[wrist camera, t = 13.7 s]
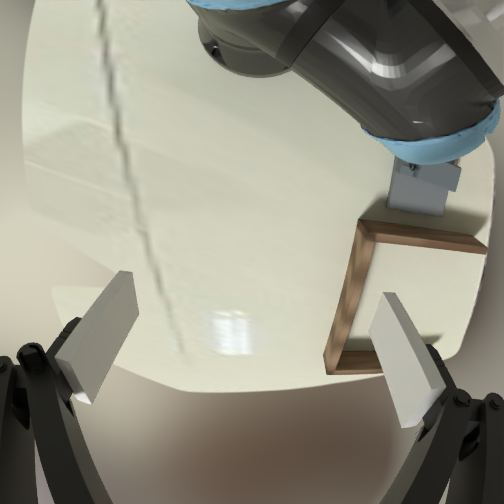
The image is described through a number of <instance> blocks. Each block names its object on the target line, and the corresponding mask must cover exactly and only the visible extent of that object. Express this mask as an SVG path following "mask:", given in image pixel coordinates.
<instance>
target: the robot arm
mask: <svg viewBox="0 0 504 504" xmlns="http://www.w3.org/2000/svg"><path fill="white" fill-rule="evenodd" d="M186 1H187V2H188V4H189V5H190V6H191V8H192V9H193V10H194V11H195V13H196V14H197V15H198V16H199V20H198V32H199V37H200V40H201V43H202V45H203V47H204V49H205V50H206V52H207V53H208V54H209V55H210V56H211V57H212V59H213V60H214V61H215V62H217V63H218V64H219V65H220V66H222V67H223V68H225V69H227V70H229V71H231V72H233V73H235V74H238V75H242V76H246V77H254V78H266V77H273V76H278V75H281V74H284V73H287V72H289V71H291V70H292V71H294V72H295V73H296V74H298V75H299V76H301V77H302V78H303V79H305V80H306V81H308V82H309V83H310V84H312V85H313V86H314V87H316V88H317V89H318V90H320V91H321V92H322V93H323V94H325V95H326V96H327V97H329V98H330V99H331V100H332V101H334V102H335V103H336V104H337V105H338V106H340V107H341V108H342V109H343V110H344V111H346V112H347V113H348V114H349V115H350V116H352V117H353V118H354V119H355V120H356V121H357V122H358V123H360V125H361V128H362V129H363V130H364V131H365V132H366V133H367V134H368V135H369V136H370V137H373V138H374V139H376V140H377V141H379V142H381V143H382V144H383V145H384V146H385V147H386V148H387V149H388V150H389V151H391V152H392V153H393V154H394V155H395V156H397V157H398V158H401V159H402V160H404V161H406V162H409V163H413V164H419V165H434V164H440V163H445V162H449V161H452V160H455V159H457V158H460V157H462V156H464V155H466V154H468V153H470V152H471V151H473V150H474V149H476V148H477V147H479V146H480V145H481V144H482V143H483V142H484V141H485V136H484V135H485V134H491V133H493V131H494V130H495V128H496V126H497V124H498V122H499V119H500V112H501V110H500V103H499V97H501V96H503V95H504V0H186ZM138 315H139V310H138V304H137V299H136V293H135V287H134V280H133V274H132V272H127V271H119V272H118V273H117V275H116V276H115V277H114V278H113V279H112V281H111V282H110V283H109V284H108V286H107V287H106V288H105V289H104V291H103V292H102V293H101V294H100V296H99V297H98V298H97V299H96V301H95V302H94V303H93V305H92V306H91V307H90V309H89V310H88V311H87V313H86V314H85V315H84V316H83V318H79V317H76V318H74V319H73V320H71V321H70V322H69V323H68V324H67V325H66V326H65V328H64V329H63V332H61V333H60V334H59V337H57V338H56V340H55V341H54V342H53V344H52V345H51V347H50V348H49V349H48V351H47V352H46V353H45V352H44V350H43V348H42V346H41V345H40V344H38V343H34V342H33V343H28V344H26V345H24V346H22V347H21V348H20V349H19V351H18V352H17V359H18V361H19V363H20V365H14V364H13V362H12V361H11V359H10V358H9V357H8V356H0V504H38V497H37V488H36V475H35V449H34V447H35V445H34V444H35V441H36V445H37V449H38V453H39V457H40V461H41V464H42V467H43V471H44V474H45V477H46V480H47V484H48V487H49V489H50V492H51V495H52V497H53V500H54V503H55V504H113V503H112V501H111V499H110V497H109V495H108V493H107V491H106V489H105V487H104V485H103V483H102V481H101V478H100V476H99V474H98V472H97V470H96V467H95V465H94V463H93V460H92V458H91V455H90V453H89V450H88V448H87V445H86V442H85V440H84V437H83V434H82V432H81V429H80V426H79V423H78V420H77V417H76V414H75V410H74V407H73V404H72V401H71V399H70V397H71V395H72V393H74V395H75V396H76V398H77V400H79V401H82V402H85V403H88V404H91V405H92V403H93V401H94V399H95V397H96V395H97V393H98V391H99V389H100V387H101V385H102V383H103V381H104V379H105V377H106V375H107V373H108V371H109V369H110V367H111V365H112V363H113V361H114V359H115V358H116V356H117V354H118V352H119V350H120V348H121V346H122V344H123V342H124V341H125V339H126V337H127V335H128V333H129V331H130V330H131V328H132V326H133V324H134V322H135V321H136V319H137V317H138ZM369 334H370V337H371V340H372V342H373V345H374V348H375V350H376V353H377V356H378V358H379V361H380V364H381V367H382V369H383V372H384V375H385V378H386V381H387V384H388V387H389V390H390V393H391V395H392V399H393V402H394V405H395V408H396V411H397V414H398V417H399V421H400V424H401V427H402V428H405V427H411V426H416V425H417V424H418V423H419V421H420V420H421V419H422V418H423V421H424V425H423V426H422V427H421V429H420V430H419V431H418V432H417V433H416V434H415V435H414V438H416V437H417V438H416V440H415V443H414V445H413V447H412V449H411V451H410V453H409V455H408V457H407V458H406V460H405V462H404V464H403V466H402V468H401V469H400V471H399V473H398V475H397V476H396V478H395V480H394V482H393V483H392V485H391V487H390V488H389V490H388V491H387V493H386V495H385V496H384V498H383V499H382V501H381V502H380V504H439V502H440V500H441V497H442V495H443V493H444V491H445V488H446V486H447V484H448V481H449V479H450V483H449V489H448V494H447V499H446V503H445V504H504V400H503V398H502V397H501V396H500V395H499V394H496V393H490V394H488V395H487V396H486V397H485V398H484V400H478V399H472V398H471V396H470V395H469V394H468V393H467V392H466V391H464V390H462V389H457V388H456V385H455V383H454V381H453V379H452V377H451V375H450V374H449V372H448V370H447V368H446V367H445V364H444V362H443V360H442V358H441V357H440V355H439V353H438V351H437V350H436V349H435V348H434V347H433V346H432V345H431V344H424V342H423V340H422V338H421V336H420V335H419V333H418V331H417V329H416V328H415V326H414V324H413V322H412V320H411V319H410V317H409V315H408V314H407V312H406V310H405V308H404V307H403V305H402V303H401V302H400V300H399V298H398V297H397V295H396V293H391V292H383V293H382V296H381V299H380V302H379V305H378V308H377V310H376V313H375V316H374V319H373V321H372V324H371V327H370V329H369ZM417 435H418V436H417ZM34 440H35V441H34ZM450 476H451V477H450Z"/></svg>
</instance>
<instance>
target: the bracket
mask: <svg viewBox="0 0 504 504" xmlns="http://www.w3.org/2000/svg"><path fill="white" fill-rule="evenodd" d="M395 171H396V172H397V173H398V174H401V175H404V176H407V177H411V178H412V177H413V178H415V179H417V180H420V181H423V182H426V183H430V184H433V185H436V186H438V187H441V188H444V189H447V190H450V191H453V192H455V191H456V188H457V184H458V181H459V177H460V173H461V167H458V166H456V165H454V164H451V163H449V162H445V163H440V164H434V165H419V164H415V167H414V168H413V170H412V169H411V168H410V166H409V162H406V161H404V160H402V159H401V158H399V159H398V162H397V165H396V169H395Z"/></svg>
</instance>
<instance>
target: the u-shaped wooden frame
mask: <svg viewBox="0 0 504 504" xmlns="http://www.w3.org/2000/svg"><path fill="white" fill-rule="evenodd" d="M375 242H381V243H391V244H400V245H409V246H418V247H427V248H435V249H444V250H452V251H461V252H469V253H477V254H484V255H486V252H487V249H488V248H487V247H486V246H485V245H484V244H482V243H481V242H480V241H478V240H477V239H476V238H475V237H473V236H471V235H465V234H459V233H453V232H447V231H441V230H434V229H427V228H421V227H414V226H406V225H399V224H392V223H384V222H376V221H368V220H360V219H358V223H357V228H356V233H355V237H354V242H353V246H352V251H351V255H350V260H349V264H348V268H347V272H346V276H345V280H344V284H343V288H342V292H341V296H340V300H339V303H338V307H337V311H336V314H335V318H334V321H333V325H332V328H331V331H330V335H329V338H328V341H327V344H326V348H325V351H324V354H323V358H324V363H325V369H326V374H327V375H353V374H377V373H384V372H383V369H382V367H381V364H380V361H379V358H378V356H377V353H376V351H342V350H343V347H344V344H345V341H346V339H347V336H348V333H349V330H350V327H351V324H352V321H353V318H354V315H355V312H356V309H357V305H358V302H359V299H360V296H361V292H362V289H363V285H364V282H365V278H366V275H367V271H368V267H369V264H370V260H371V256H372V252H373V248H374V244H375Z"/></svg>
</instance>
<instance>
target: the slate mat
mask: <svg viewBox="0 0 504 504" xmlns="http://www.w3.org/2000/svg"><path fill="white" fill-rule="evenodd" d="M398 159H399V158H398V157H397V156H395V160H394V166H393V172H392V178H391V184H390V189H389V194H388V199H387V204H386V207H388V208H389V209H396V210H402V211H409V212H415V213H421V214H427V215H432V216H438V217H442V216H443V212H444V208H445V203H446V199H447V195H448V190H447V189H444V188H441V187H438V186H436V185H433V184H430V183H426V182H423V181H420V180H417V179H415V178H413V177H412V178H411V177H407V176H404V175H401V174H398V173H397V172H396V171H395V169H396V165H397V162H398ZM449 163H451V164H454V160H452V161H449ZM409 166H410V168H411V169H412V170H413V168H414V167H415V164H413V163H409Z"/></svg>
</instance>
